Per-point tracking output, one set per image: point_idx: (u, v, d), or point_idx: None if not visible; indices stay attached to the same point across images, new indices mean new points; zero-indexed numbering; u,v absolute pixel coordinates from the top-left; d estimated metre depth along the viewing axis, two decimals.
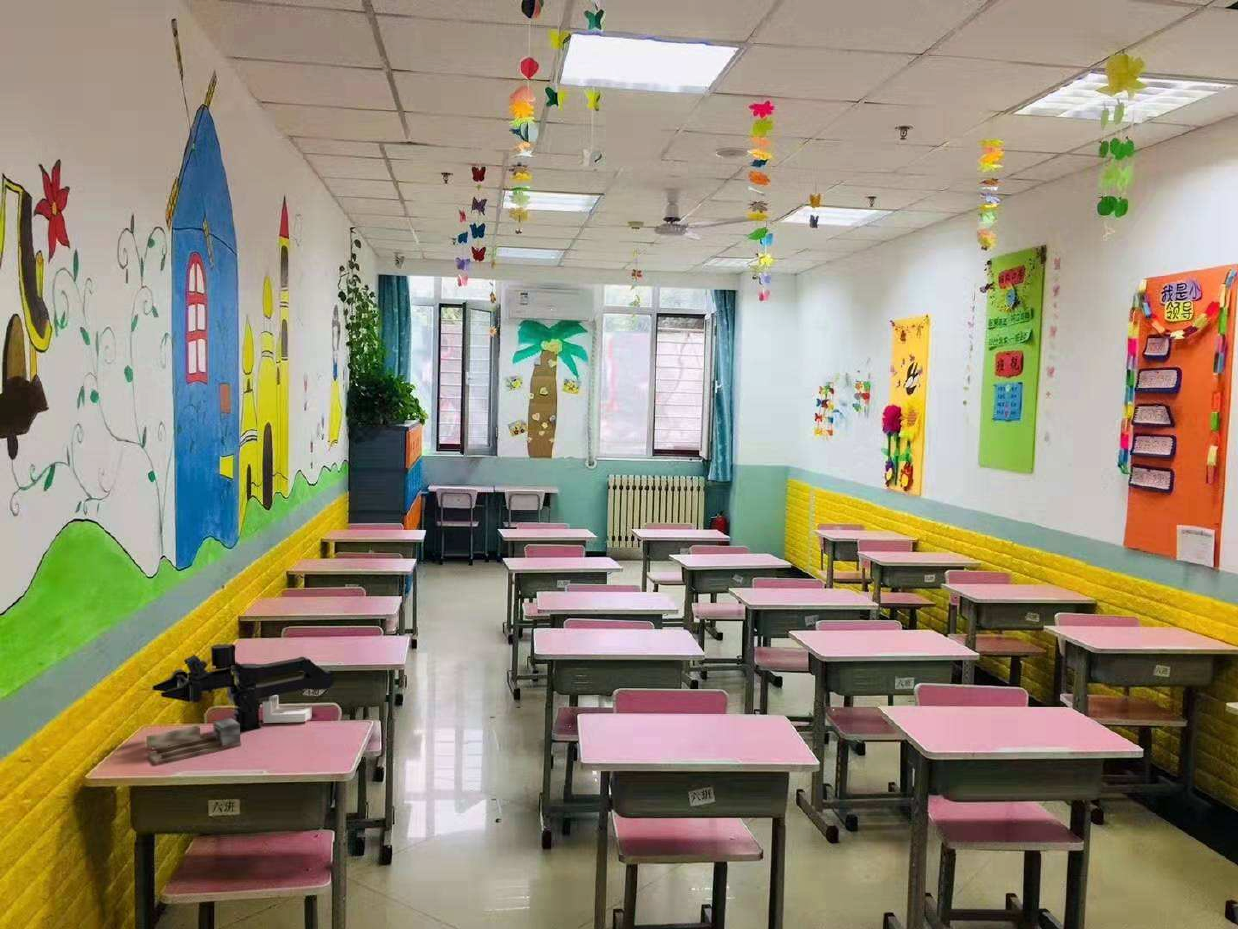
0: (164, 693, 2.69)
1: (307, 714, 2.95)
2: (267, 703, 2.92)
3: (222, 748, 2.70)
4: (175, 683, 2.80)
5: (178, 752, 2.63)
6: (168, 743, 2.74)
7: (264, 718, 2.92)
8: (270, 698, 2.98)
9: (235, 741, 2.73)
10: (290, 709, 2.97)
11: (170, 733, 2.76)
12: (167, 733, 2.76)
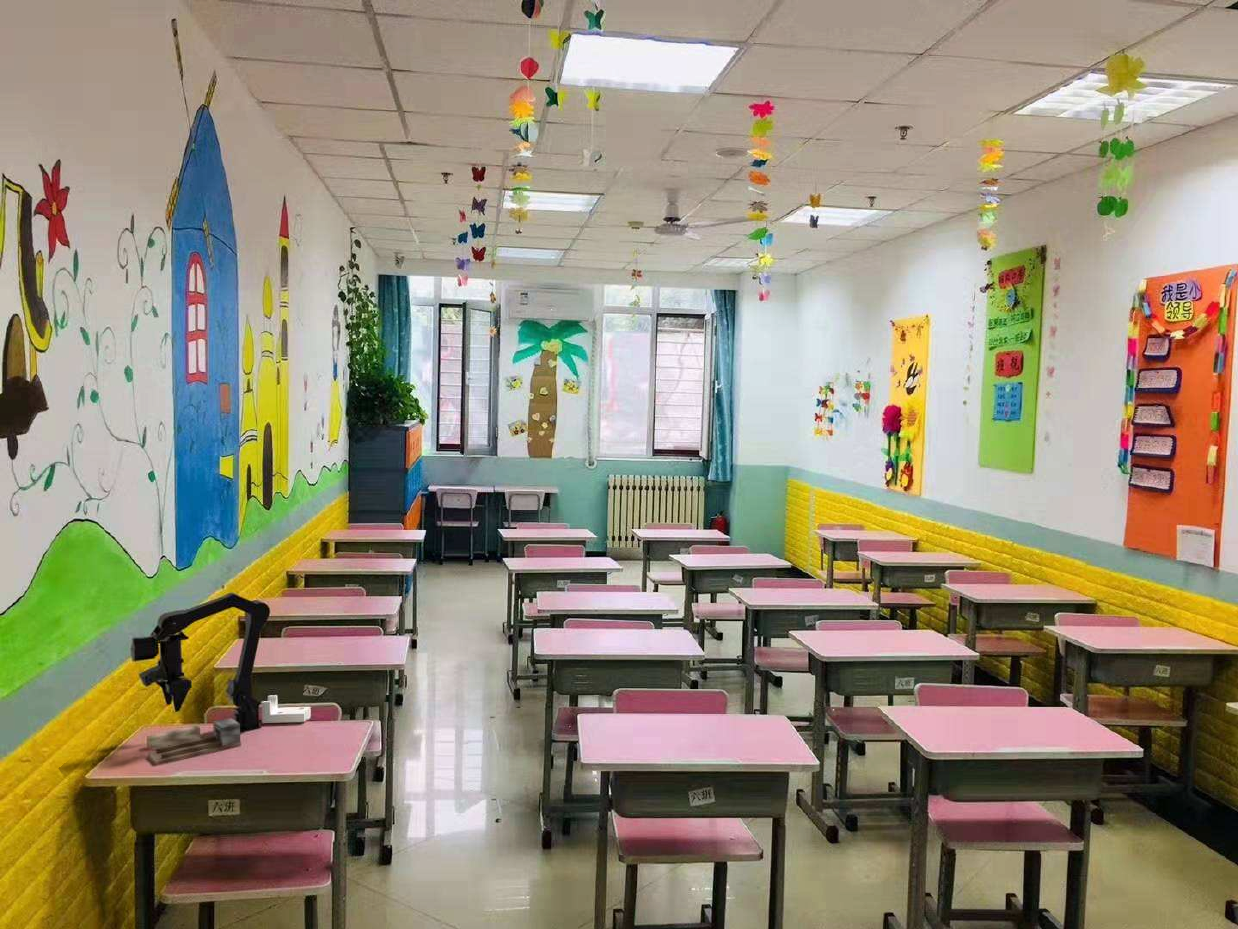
0: (177, 709, 2.72)
1: (306, 714, 2.95)
2: (266, 703, 2.92)
3: (222, 748, 2.70)
4: None
5: (178, 752, 2.63)
6: (168, 743, 2.74)
7: (263, 718, 2.92)
8: (269, 698, 2.98)
9: (235, 741, 2.73)
10: (289, 709, 2.97)
11: (170, 733, 2.76)
12: (167, 733, 2.76)
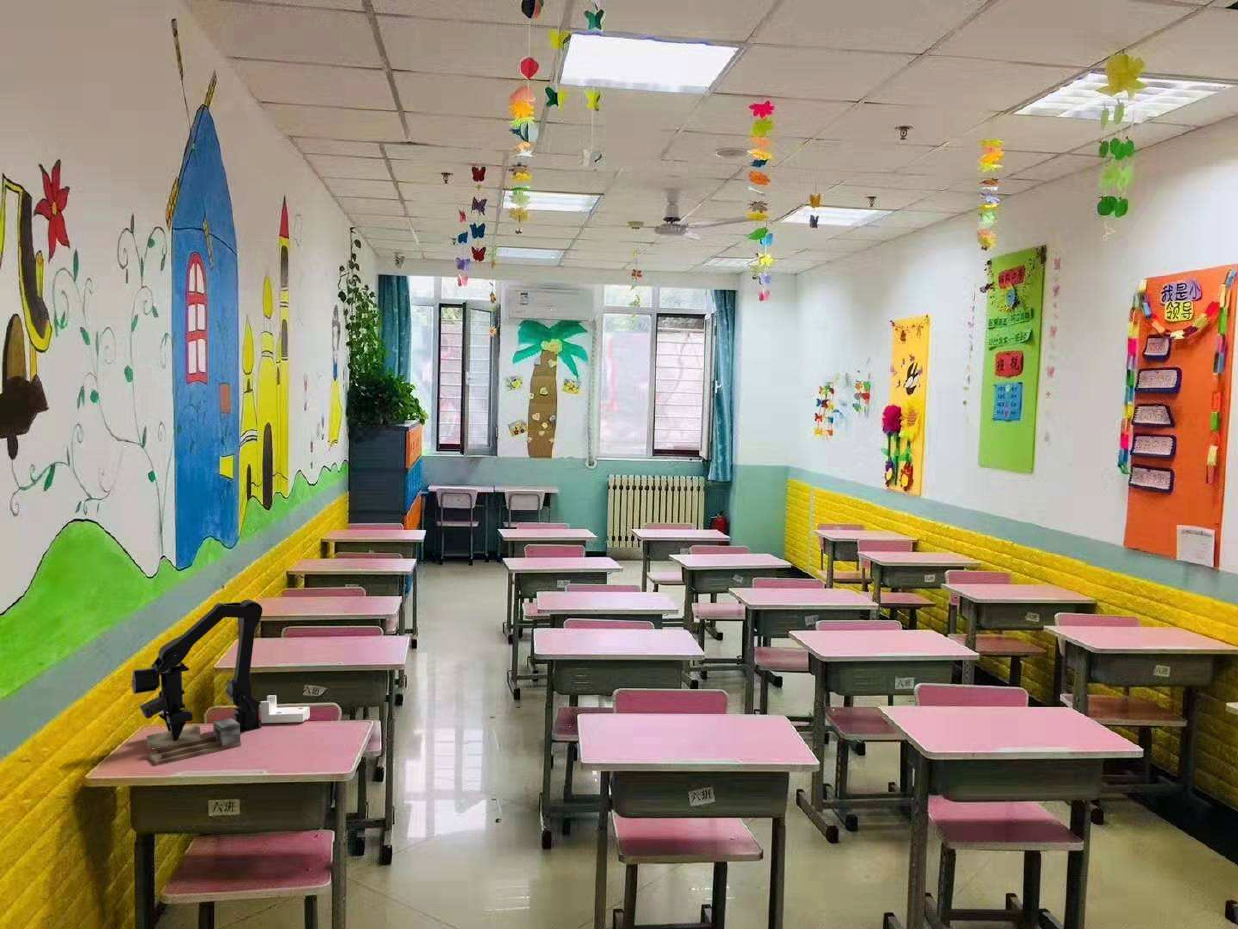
0: (175, 738, 2.75)
1: (305, 714, 2.95)
2: (265, 703, 2.92)
3: (222, 748, 2.70)
4: None
5: (178, 752, 2.63)
6: (168, 743, 2.74)
7: (262, 718, 2.92)
8: (268, 698, 2.98)
9: (235, 741, 2.73)
10: (288, 709, 2.97)
11: (170, 732, 2.76)
12: (167, 733, 2.76)
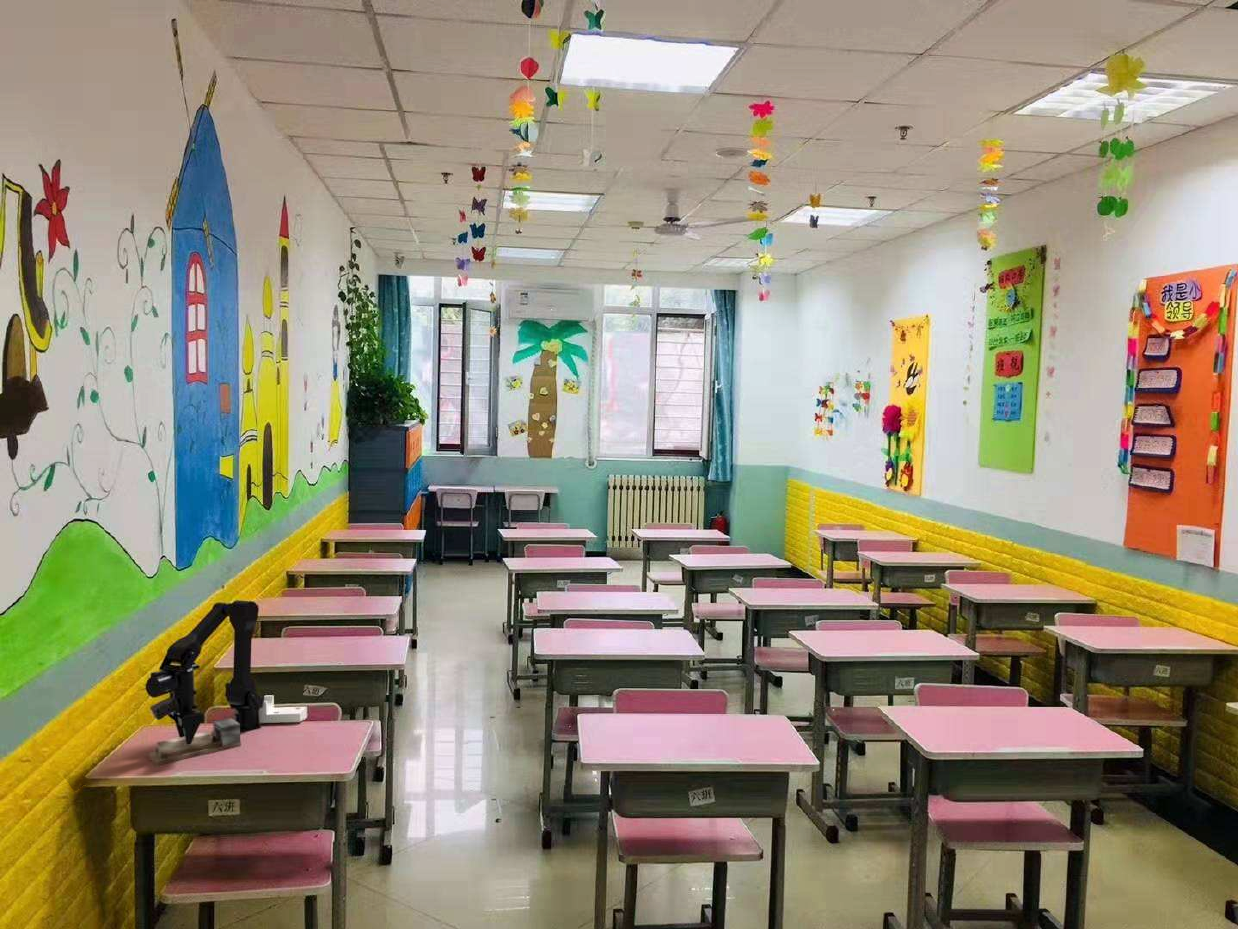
0: (188, 741, 2.64)
1: (302, 714, 2.95)
2: None
3: (222, 748, 2.70)
4: None
5: (178, 752, 2.63)
6: (179, 749, 2.65)
7: (259, 718, 2.92)
8: (265, 698, 2.98)
9: (235, 741, 2.73)
10: (285, 709, 2.97)
11: (181, 739, 2.66)
12: (179, 739, 2.66)
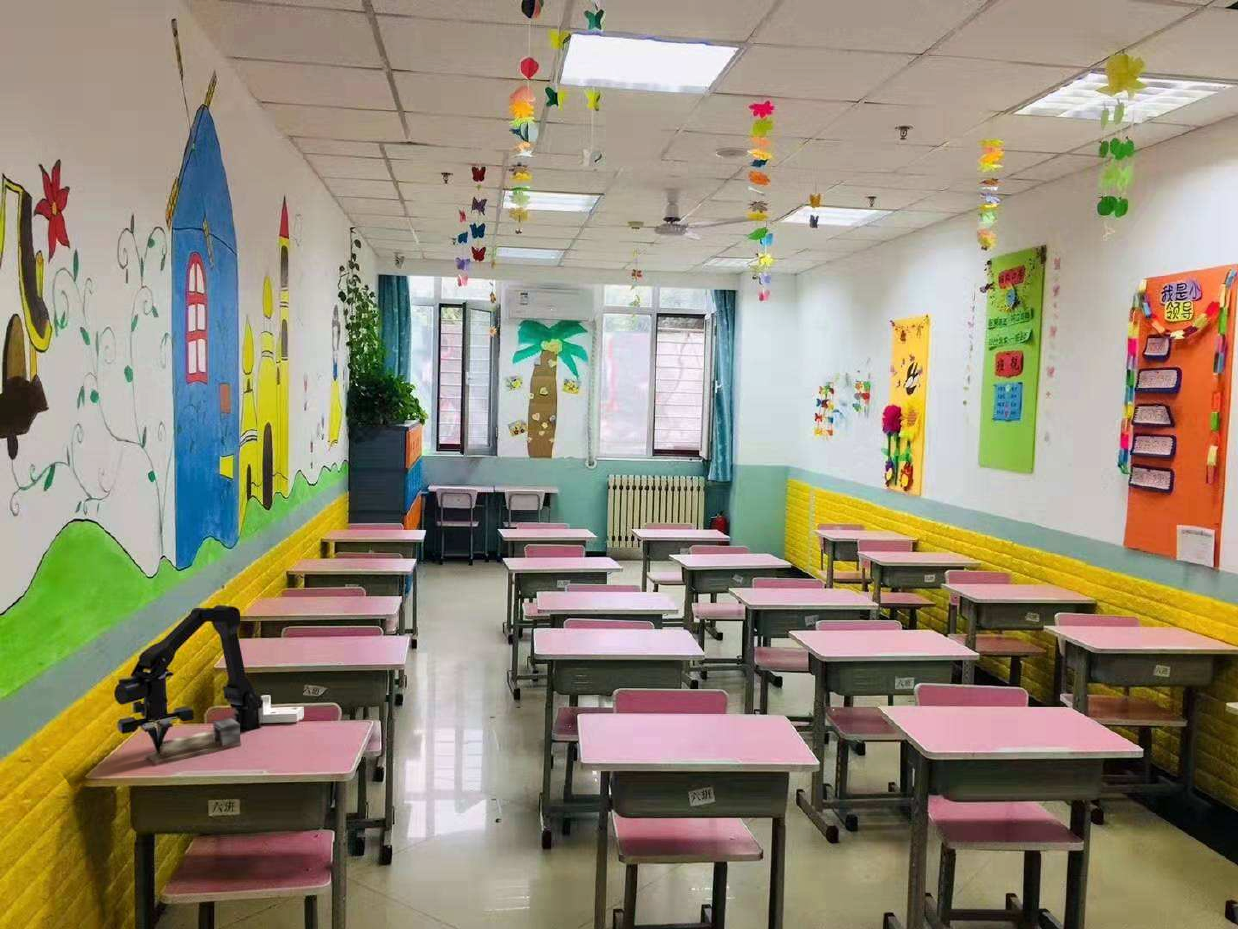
0: None
1: (299, 714, 2.95)
2: None
3: (222, 748, 2.70)
4: (159, 726, 2.63)
5: (178, 752, 2.63)
6: None
7: None
8: (262, 698, 2.98)
9: (235, 741, 2.73)
10: (282, 709, 2.97)
11: (184, 738, 2.67)
12: (181, 738, 2.67)
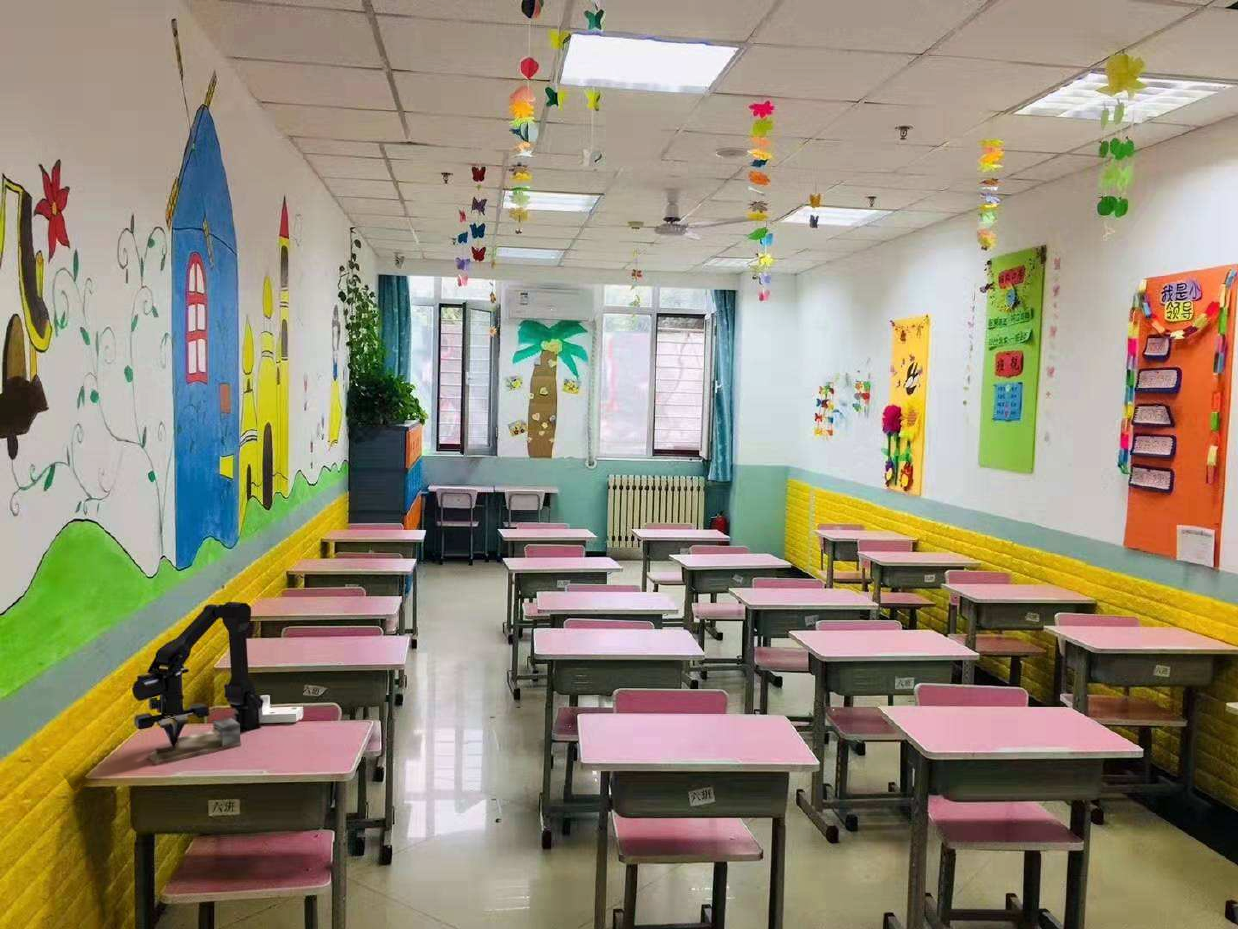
0: (170, 742, 2.65)
1: (298, 714, 2.95)
2: None
3: (222, 748, 2.70)
4: (174, 722, 2.66)
5: (178, 752, 2.63)
6: (197, 745, 2.68)
7: None
8: (261, 698, 2.98)
9: (235, 741, 2.73)
10: (281, 709, 2.97)
11: (199, 735, 2.69)
12: (197, 735, 2.69)
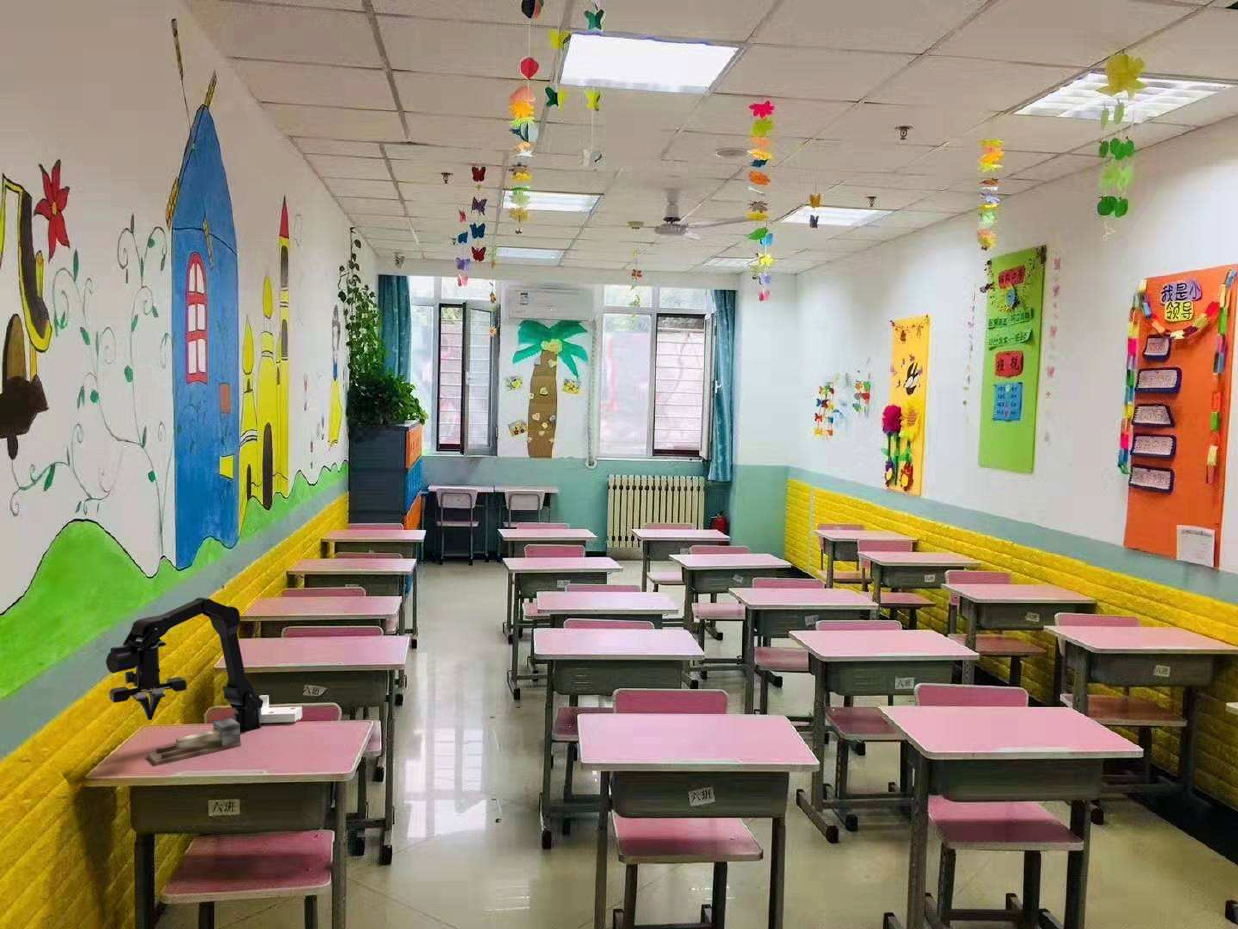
0: None
1: (297, 714, 2.95)
2: None
3: (222, 748, 2.70)
4: (151, 696, 2.61)
5: (178, 752, 2.63)
6: (197, 745, 2.68)
7: None
8: (260, 698, 2.98)
9: (235, 741, 2.73)
10: (280, 709, 2.97)
11: (199, 735, 2.69)
12: (197, 735, 2.69)
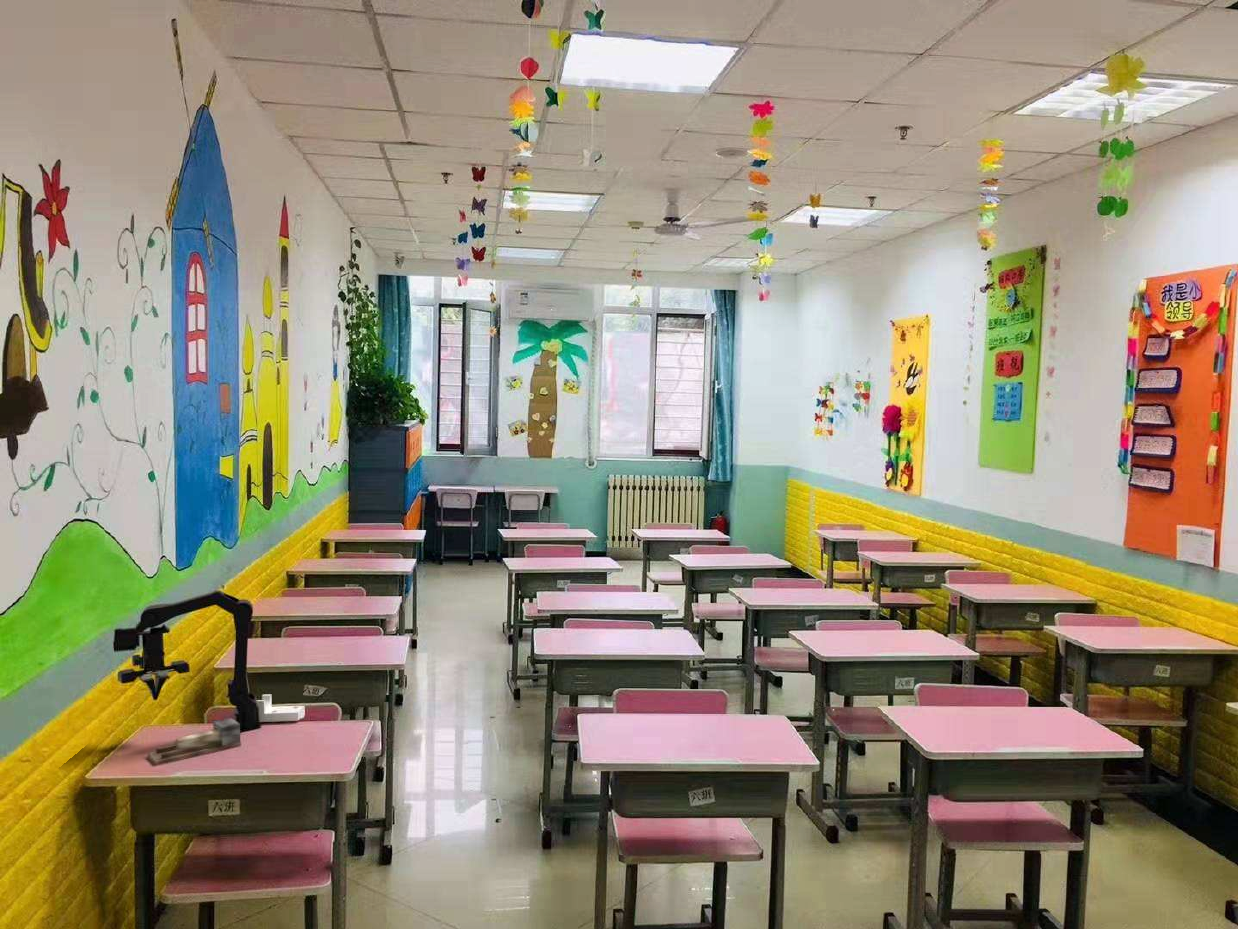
0: None
1: (300, 713, 2.96)
2: (260, 702, 2.93)
3: (222, 748, 2.70)
4: (156, 678, 2.80)
5: (178, 752, 2.63)
6: (197, 745, 2.68)
7: None
8: (263, 697, 2.99)
9: (235, 741, 2.73)
10: (283, 708, 2.98)
11: (199, 735, 2.69)
12: (197, 735, 2.69)
